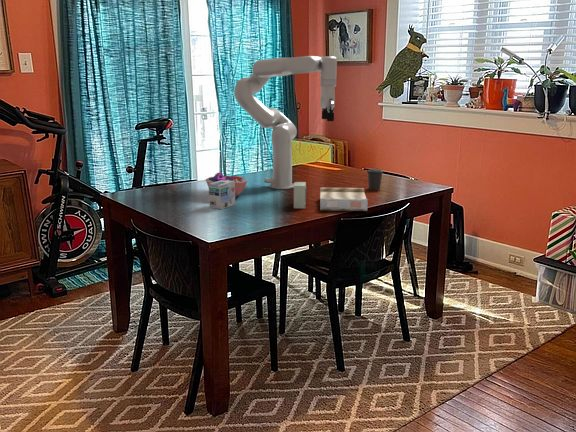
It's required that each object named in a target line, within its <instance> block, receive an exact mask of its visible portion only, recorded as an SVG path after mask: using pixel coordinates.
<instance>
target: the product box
mask: <svg viewBox="0 0 576 432" xmlns="http://www.w3.org/2000/svg"><path fill="white" fill-rule="evenodd" d="M293 184H294V188H293V209H306V206H305V205H306V203H307V182H306V181H294V183H293Z"/></svg>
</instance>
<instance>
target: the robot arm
mask: <svg viewBox="0 0 576 432" xmlns="http://www.w3.org/2000/svg"><path fill="white" fill-rule="evenodd" d="M337 62H338V59H337V57H336V56H328V55H327V56H318V55H317V56H316V55H305V56H295V57H293V56H292V57H285V56H284V57H276V58H275V57H274V58H266V59H265V58H264V59H258V60H256V61H255V62H254V63H253V64H252V65H253V66H252V74H251V75H250V76H249V77H243V78H240V79H238V80H237V82H236V83H235V86H234V97H235V100H236V102H237V104H238V105H239V106H240V107H241V108H242V109H243V110H244V111H245V112H246V113H247V114H248V115H249V116H250V117H251V118H252V119H253V120H254V121H256V122H257V123H258V125H259V126H260V127H262V128H264V129H270V128H271V129H272V131H271V136H270V137H271V144H272V177H270V178H264V180H263V181H264V183H265V184H266V183H267V184H269V187H270V188H272V189H274V190H291V189H294V183H293V147H292V140H294V139H295V138H296V136H297V134H298V131H297V130H298V129H297V127H296V125H295V124H294V123H293V122H292V121H291V120H290V119H289V118H288V117H286V116H285V114H283V113H282V112H281V111H280V110H279V109H277V108H274V107H267V106H266V105H265V104H264V103H263V102H262V101H261V100H259V99H258V98H257V97H256V96H254V95H255V94H257V93H259V92H260V91H261V90H262V89H263V88H264V86H265V85H266V84H267V83H268V82H269V80H270V79H271V78H274V77H285V76H286V77H287V76H290V75H298V74H310V73H311V74H312V73H318V72H320V79H319V81H320V86H319V87H321V88H320V103H319V107H321V120H326V121H327V122H334V121H335V105H336V91H335V90H336V89H335V88H336V87H337V73H338V72H337V71H338V69H337V67H338V63H337Z"/></svg>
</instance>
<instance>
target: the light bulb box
mask: <svg viewBox="0 0 576 432" xmlns="http://www.w3.org/2000/svg"><path fill="white" fill-rule="evenodd" d="M208 195H209V196H208V197H209V198H208V199H209V202H208V203H209V208H211V209H212V208H213V209H217V210H218V209H219V210H223V209H226V208H229V207H232V206H235V205H236V196H235V181H229V180H220V181H217V182H213V183H209V188H208Z"/></svg>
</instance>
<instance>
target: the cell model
mask: <svg viewBox="0 0 576 432" xmlns="http://www.w3.org/2000/svg"><path fill="white" fill-rule="evenodd" d="M223 174H224V173H222V172H221V171H219V172H217V173H215V174H214V175H213V176H210V177H207V178H206V179H205V182H206V184H207V188H208V189H209V183H213V182H217V181H220V180H229V181H235V197H237V196H238V195H240V194H242V192H244V190H245V188H246V186H247V182H248V179H246V178H244V177H242V176H237V175H223Z"/></svg>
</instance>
